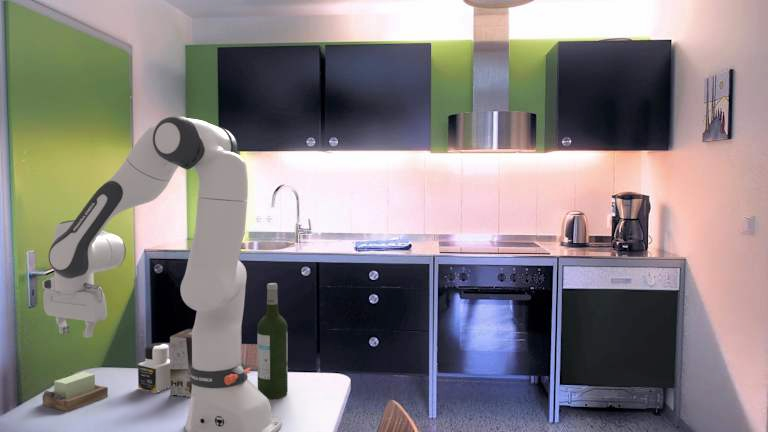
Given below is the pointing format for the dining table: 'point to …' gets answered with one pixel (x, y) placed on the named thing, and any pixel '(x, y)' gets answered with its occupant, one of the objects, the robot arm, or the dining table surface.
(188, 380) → the coffee box
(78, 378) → the pale green box
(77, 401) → the wooden footed tray
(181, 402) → the dining table surface
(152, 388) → the medicine bottle
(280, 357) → the wine bottle
